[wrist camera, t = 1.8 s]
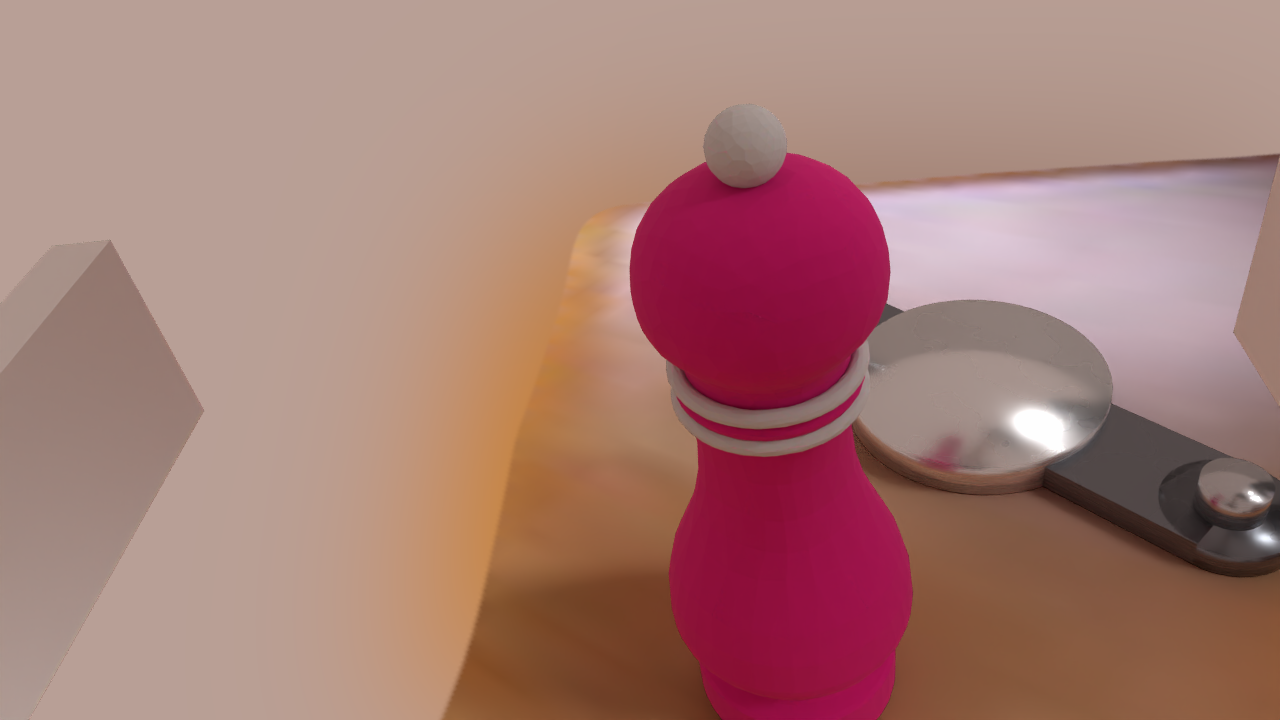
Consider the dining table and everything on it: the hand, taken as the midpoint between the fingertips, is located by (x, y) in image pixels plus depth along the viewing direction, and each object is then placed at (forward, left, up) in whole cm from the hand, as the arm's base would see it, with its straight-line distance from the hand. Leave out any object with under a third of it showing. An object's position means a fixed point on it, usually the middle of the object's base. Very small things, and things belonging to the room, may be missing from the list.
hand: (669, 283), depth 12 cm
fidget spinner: (-22, -10, -23) cm, 33 cm away
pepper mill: (-8, -7, -23) cm, 25 cm away
